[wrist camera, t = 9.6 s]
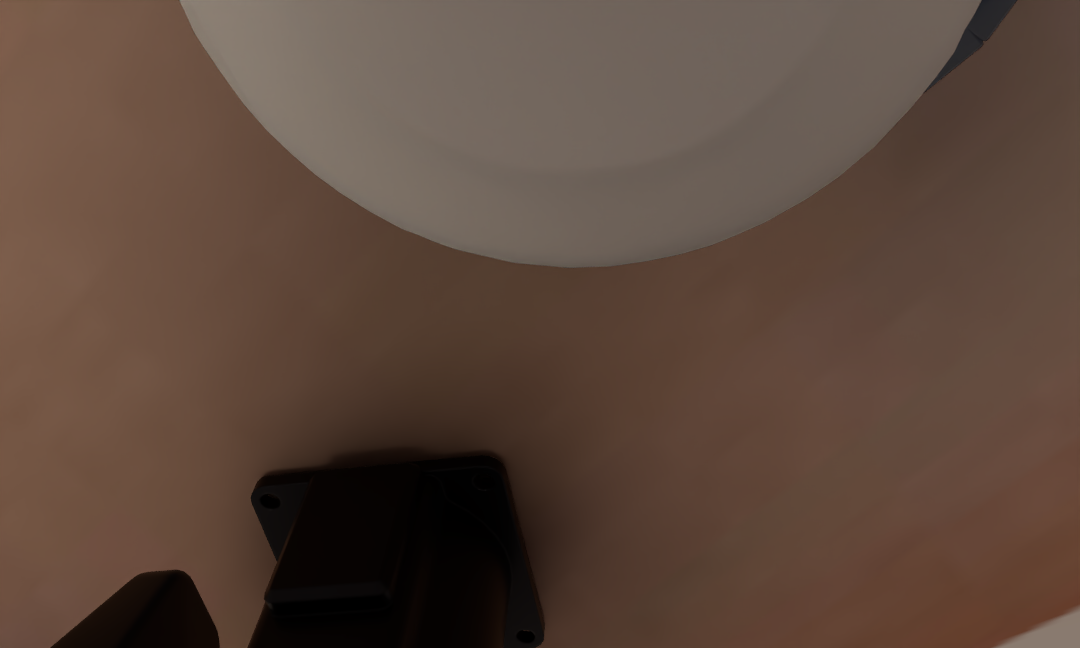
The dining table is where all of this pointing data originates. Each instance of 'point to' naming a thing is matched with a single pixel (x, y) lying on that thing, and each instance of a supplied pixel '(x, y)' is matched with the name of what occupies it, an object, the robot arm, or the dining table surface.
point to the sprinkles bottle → (579, 109)
